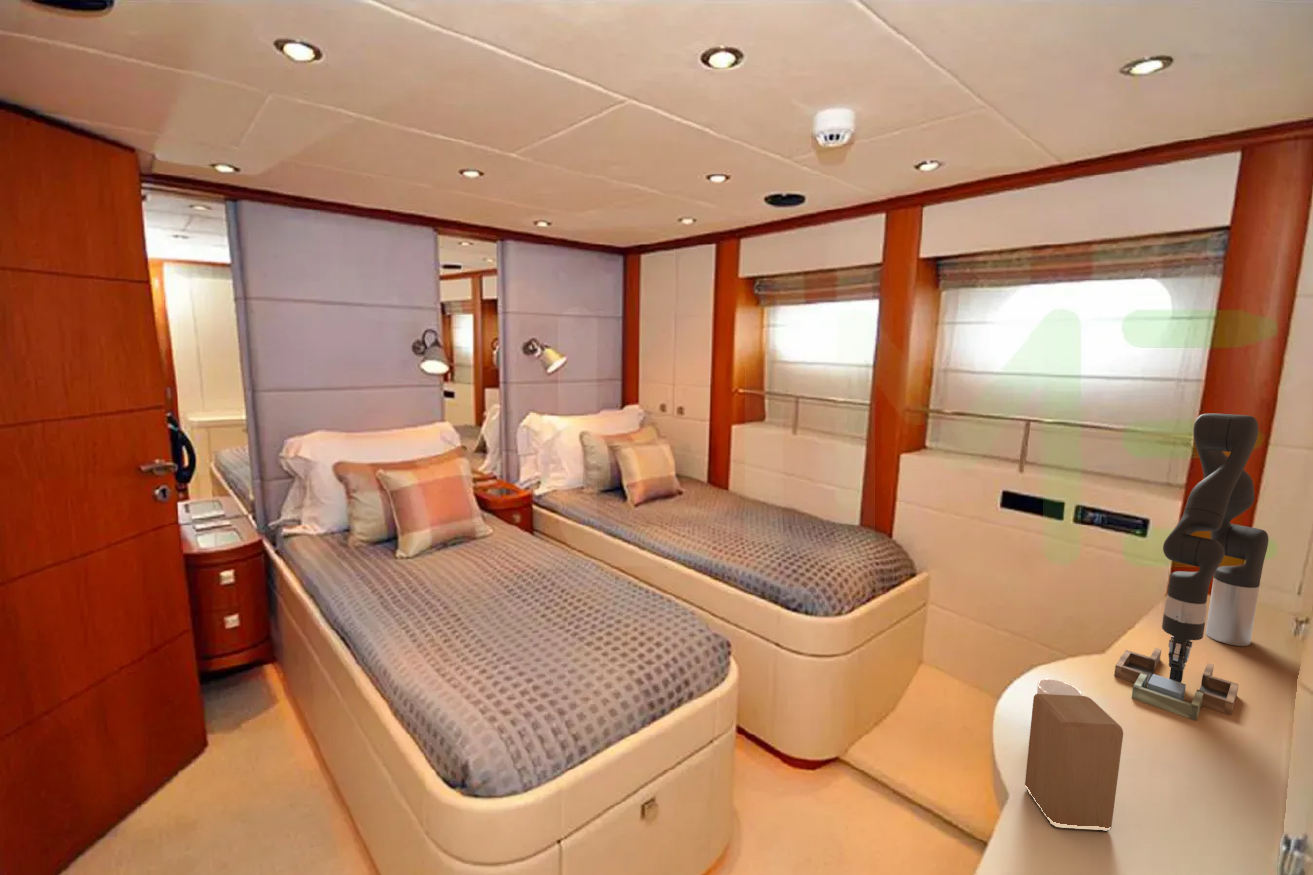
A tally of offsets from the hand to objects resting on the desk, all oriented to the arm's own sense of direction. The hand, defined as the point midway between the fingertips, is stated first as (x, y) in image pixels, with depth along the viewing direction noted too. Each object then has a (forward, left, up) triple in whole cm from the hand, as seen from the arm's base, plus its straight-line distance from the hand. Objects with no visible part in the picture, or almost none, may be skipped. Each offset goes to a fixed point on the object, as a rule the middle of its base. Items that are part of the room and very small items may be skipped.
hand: (1175, 681), depth 144 cm
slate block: (+9, -1, -1) cm, 9 cm away
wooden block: (+67, -6, -1) cm, 67 cm away
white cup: (+43, -14, -1) cm, 45 cm away
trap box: (+1, 0, -1) cm, 1 cm away
